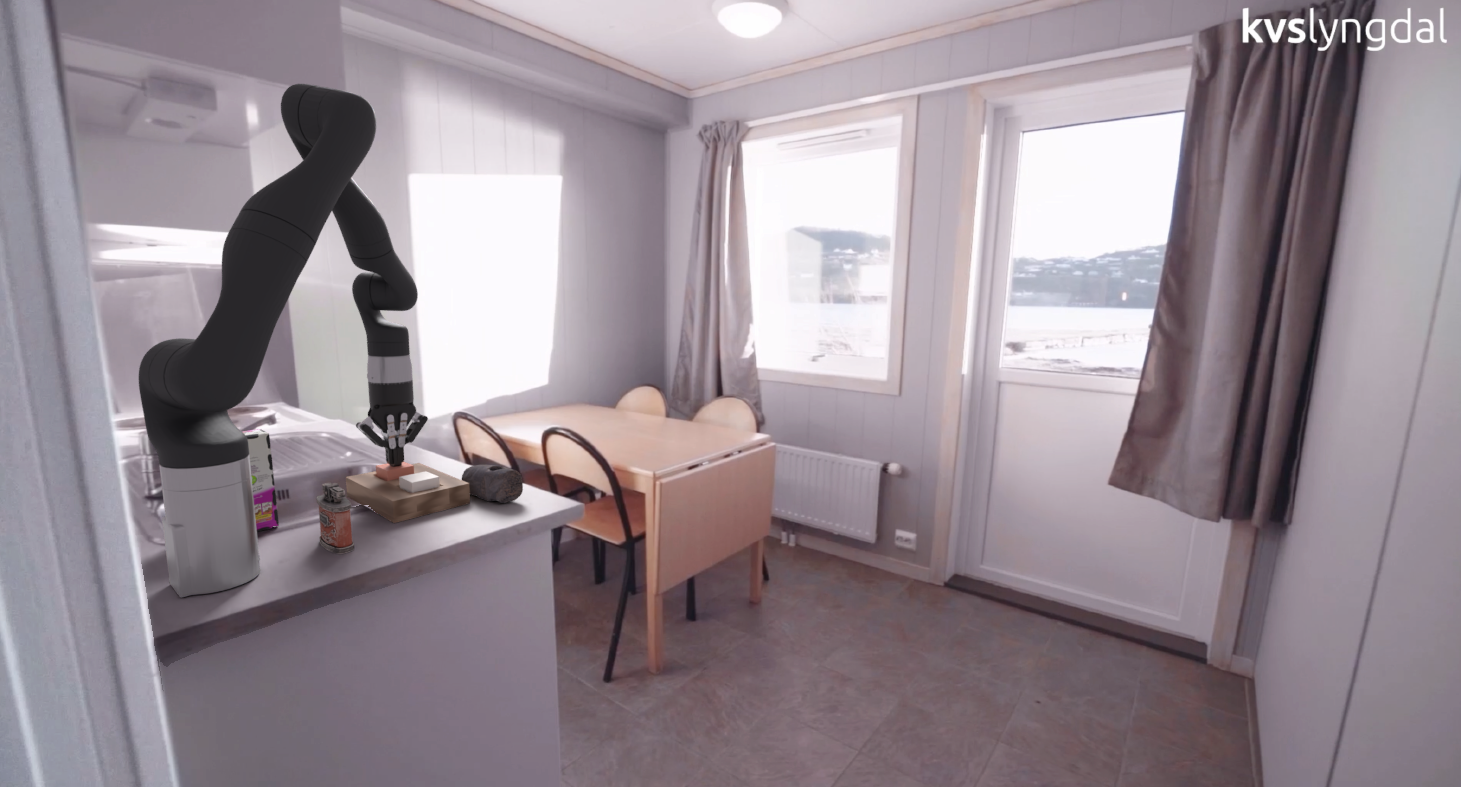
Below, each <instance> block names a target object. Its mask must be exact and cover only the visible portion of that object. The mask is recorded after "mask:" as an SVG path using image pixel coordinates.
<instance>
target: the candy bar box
mask: <svg viewBox="0 0 1461 787" xmlns="http://www.w3.org/2000/svg"><path fill="white" fill-rule="evenodd" d="M242 432H243V433H244V434H245V435H246V437H247V439H248V445H249V456H250V466H251V477H252V488H253V498H254V508H255V518H256V529H257V533H259V532H263V531H266V530H269V529H274V528H276V527H274V528H272V527H273V526H278V527H279V526H280V523H279V513H278V512H279V511H278V503H277V494H276V485H275V477H274V474H275V473H274V468H273V467H274V466H273V457H272V447H271V437H270V433H269V432H267V431H265V430H263V429H262V428H257V429H249V430H245V431H244V430H243V431H242ZM267 528H268V529H267Z"/></svg>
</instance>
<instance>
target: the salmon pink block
mask: <svg viewBox="0 0 1461 787" xmlns="http://www.w3.org/2000/svg"><path fill="white" fill-rule="evenodd" d="M411 464H412V463H409V462H405V461H404V462H402V465H401V466H397V467H392V466H390V465H389V464H388V463H387V462H386V463H383V464H377V465H375V471H376V477H378V478H380V479H382V480H384V481H390V480H395V479H399V477H401V476H406V475H410V474H414V466H413V465H411Z"/></svg>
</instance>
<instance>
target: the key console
mask: <svg viewBox="0 0 1461 787" xmlns="http://www.w3.org/2000/svg"><path fill="white" fill-rule="evenodd" d="M410 464H411V465H413V466H414V474H415V473H420V472H425V471H427V472H429V473H431V474H434V475H436V476H439V484H440V487H436V488H431V489H427V490H423V491H418V492H414V493H409V492H407V491H405V490H403V489H401V488H400V482H399V479H395V480H390V481H384V480H382V479H380V478H378V477H376V470H374V471H370V472H365V473H360V474H354V475H349V476H346V477H345V487H346V498H347V499H350V500H352V501H354V502H356V503H357V504H359V505H361V506H363V505H369V506H368V507H371V509H373V511H375V512H376V513H375V512H374V513H375V514H377V513H378V514H377V515H379V514H380V515H381V516H380V515H379V516H380V517H382V516H383V517H382V518H384V519H385V520H388V521H389V522H391V523H393V524H397V523H400V522H405V521H408V520H412V519H415V518H416V519H417V518H419V517H422V516H423V517H424V516H427V515H430V514H434V513H437V512H438V513H439V512H443V511H446V510H449V509H453V508H457V507H461V506H465V505H469V504H471V496H470V495H471V494H470V488H469V483H467V482H465V481H462V479H460V478H457V477H455V476H453V475H450V474H447V473H445V472H442V471H440V470H438V469H435V468H433V467H430V466H428V465H426V464H424V463H420V462H417V463H410ZM373 511H372V512H373Z"/></svg>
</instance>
